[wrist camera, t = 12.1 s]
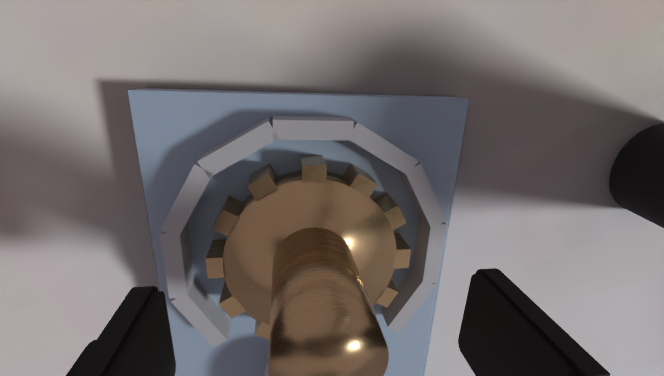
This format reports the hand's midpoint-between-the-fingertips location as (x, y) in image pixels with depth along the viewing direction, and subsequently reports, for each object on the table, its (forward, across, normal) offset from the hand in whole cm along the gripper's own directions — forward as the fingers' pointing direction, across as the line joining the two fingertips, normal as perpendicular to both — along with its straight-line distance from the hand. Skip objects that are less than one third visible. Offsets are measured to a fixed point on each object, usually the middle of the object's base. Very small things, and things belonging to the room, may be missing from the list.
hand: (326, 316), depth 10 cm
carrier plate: (+6, 0, +3) cm, 7 cm away
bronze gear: (+5, 0, 0) cm, 5 cm away
